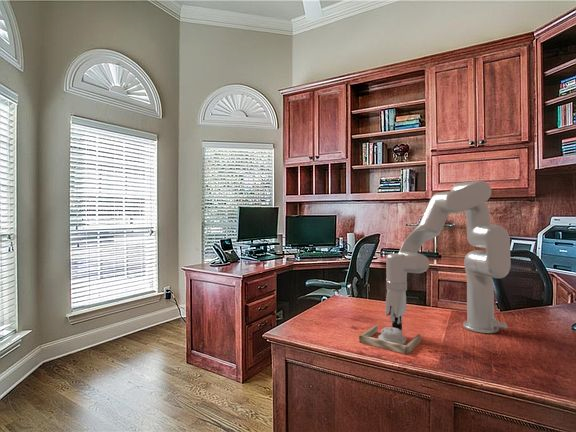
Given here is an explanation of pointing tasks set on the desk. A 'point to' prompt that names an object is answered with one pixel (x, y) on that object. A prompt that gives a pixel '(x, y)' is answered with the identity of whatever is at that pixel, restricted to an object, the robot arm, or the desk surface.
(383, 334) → the mechanical component
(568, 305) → the desk surface
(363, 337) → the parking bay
